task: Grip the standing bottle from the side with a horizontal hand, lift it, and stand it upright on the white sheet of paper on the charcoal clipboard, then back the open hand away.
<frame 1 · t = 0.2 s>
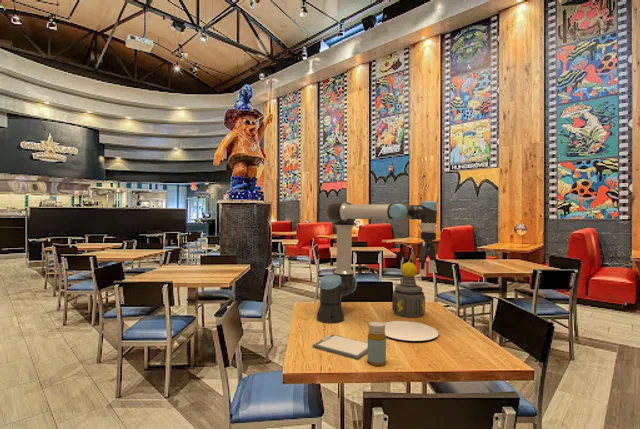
hand: (427, 274, 172), 28 cm above the table, tool pointing down, fingers open, 13 cm apart
bottle: (376, 363, 133), on the table
plate: (407, 333, 168), on the table
clipboard: (344, 347, 148), on the table
decorative lamp: (408, 314, 201), on the table
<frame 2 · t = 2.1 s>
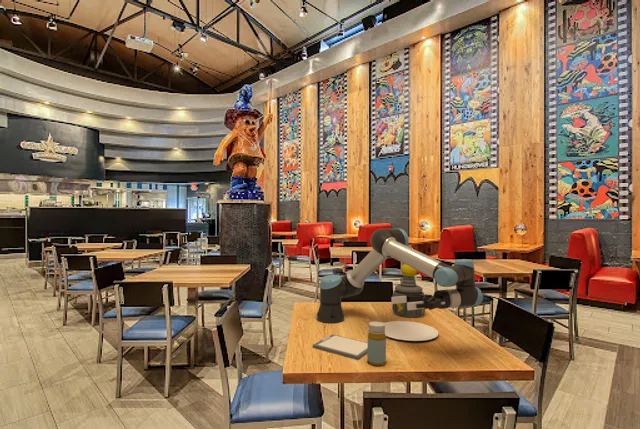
hand: (399, 303, 137), 22 cm above the table, tool horizontal, fingers open, 13 cm apart
nothing on the table moved.
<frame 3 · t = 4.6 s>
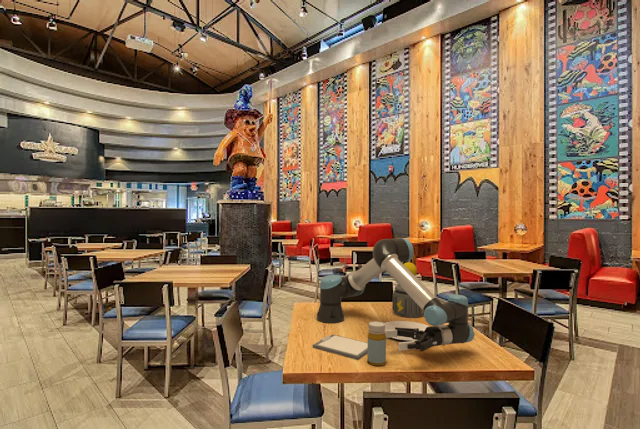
hand: (390, 340, 134), 8 cm above the table, tool horizontal, fingers open, 13 cm apart
nothing on the table moved.
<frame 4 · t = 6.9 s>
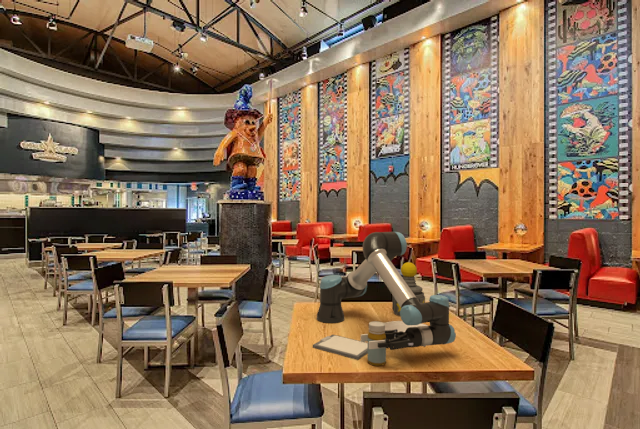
hand: (364, 341, 131), 9 cm above the table, tool horizontal, fingers closed on bottle, 7 cm apart
bottle: (376, 363, 133), on the table, touching gripper
everything else where it was.
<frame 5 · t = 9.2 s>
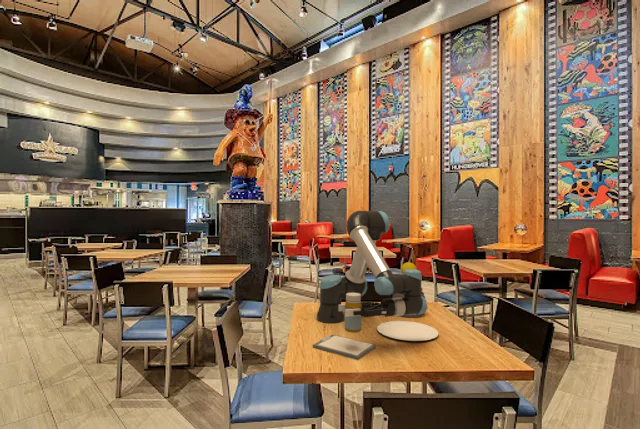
hand: (341, 310, 142), 18 cm above the table, tool horizontal, fingers closed on bottle, 7 cm apart
bottle: (353, 330, 143), point 9 cm above the table, touching gripper
everything else where it was.
when the fingers open (11 cm above the table, at t = 11.6 s): bottle drops 1 cm, resting on clipboard.
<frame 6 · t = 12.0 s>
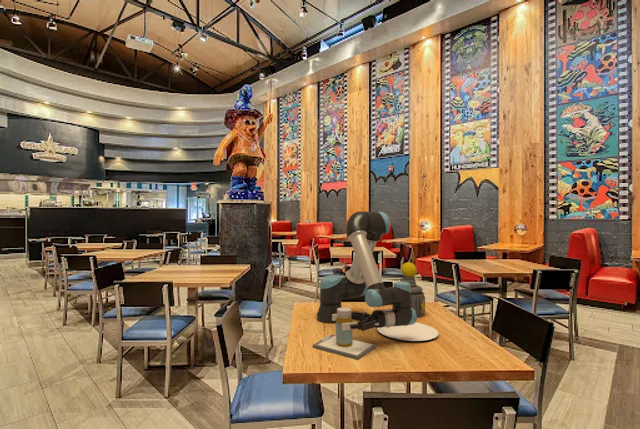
hand: (336, 322, 147), 11 cm above the table, tool horizontal, fingers open, 13 cm apart
bottle: (344, 344, 148), point 1 cm above the table, touching clipboard
everything else where it was.
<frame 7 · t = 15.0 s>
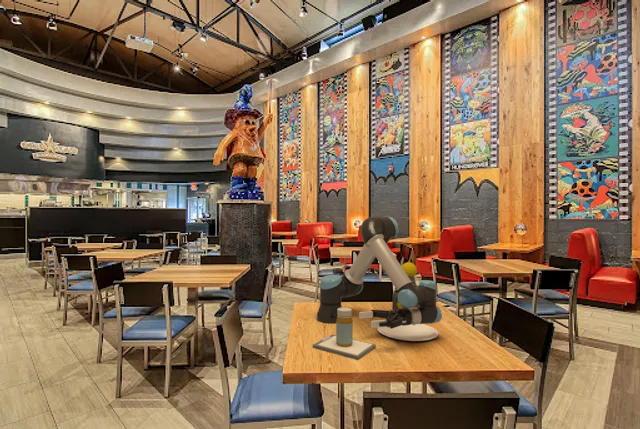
hand: (365, 319, 150), 11 cm above the table, tool horizontal, fingers open, 13 cm apart
nothing on the table moved.
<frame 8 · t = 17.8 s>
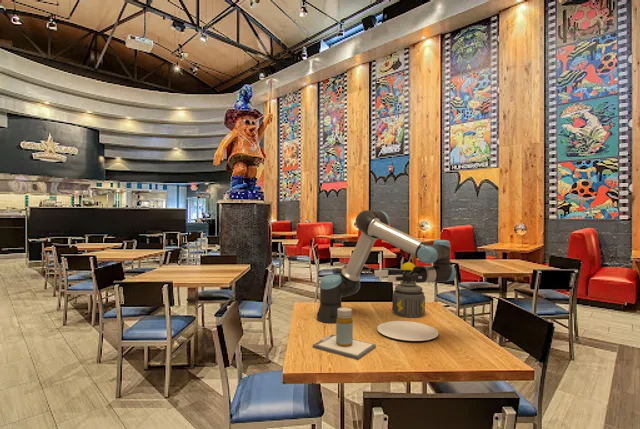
hand: (381, 276, 153), 30 cm above the table, tool horizontal, fingers open, 13 cm apart
nothing on the table moved.
at the end: bottle inside the target area on the clipboard (0.1 cm from its centre), point 1.2 cm above the clipboard's base; bottle tilted 0°; the gripper is holding nothing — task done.
